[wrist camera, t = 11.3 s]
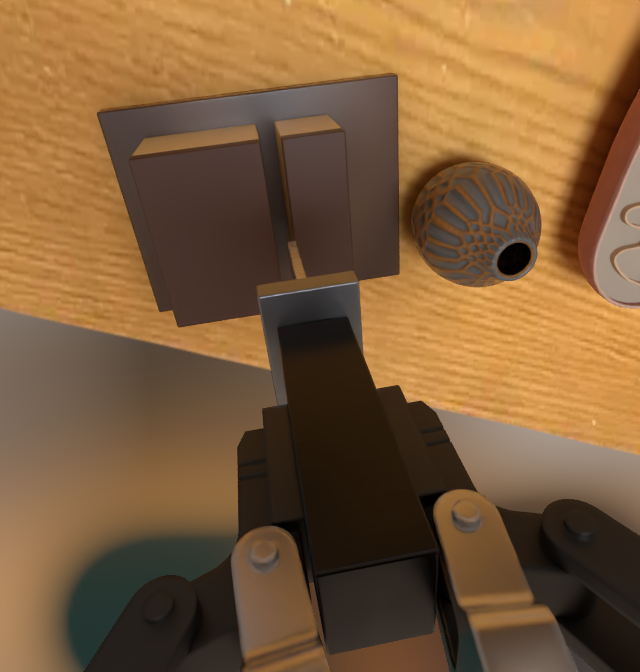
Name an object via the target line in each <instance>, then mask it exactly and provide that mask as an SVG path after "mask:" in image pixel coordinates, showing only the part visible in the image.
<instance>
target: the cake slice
mask: <svg viewBox="0 0 640 672" xmlns="http://www.w3.org/2000/svg"><path fill="white" fill-rule="evenodd" d="M274 127H275V135H276V142H277V149H278V156H279V164H280V171H281V178H282V186H283V193H284V200H285V208H286V215H287V222H288V229H289V237H290V241H296V242H297V246H298V249H299V252H300V256H301V259H302V263H303V266H304V269H305V273H306V276H307V278H308V277H315V276H321V275H328V274H334V273H340V272H347V271H354V262H353V246H352V231H351V215H350V200H349V184H348V169H347V153H346V138H345V131H344V130H343V129H342V128H341V127H340V126H339V125H338V124H337V123H336V122H335V121H333V120H332V119H331V118H330V117H329V116H328V115H327V114H325V115H318V116H310V117H302V118H295V119H287V120H279V121H275V122H274Z"/></svg>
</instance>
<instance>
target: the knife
mask: <svg viewBox="0 0 640 672" xmlns="http://www.w3.org/2000/svg"><path fill="white" fill-rule="evenodd" d="M287 249H288V256H289V263H290V270H291V277H292V280H289V281H283V282H276V283H270V284H263V285H258V286H257V287H256V289H257V299H258V304H259V309H260V315H261V320H262V325H263V331H264V336H265V341H266V346H267V352H268V357H269V362H270V367H271V373H272V377H273V383H274V388H275V394H276V399H277V404H278V406H279V405H285V404H288V410H289V416H290V423H291V430H292V437H293V444H294V451H295V458H296V464H297V471H298V478H299V485H300V492H301V499H302V506H303V512H304V519H305V526H306V533H307V540H308V547H309V554H310V560H311V567H312V574H313V580H314V585H315V591H316V596H317V601H318V607H319V612H320V618H321V623H322V628H323V634H324V639H325V645H326V650H327V653H328V654H329V655H332V654H337V653H342V652H347V651H351V650H356V649H361V648H366V647H370V646H375V645H380V644H385V643H389V642H394V641H399V640H403V639H408V638H413V637H418V636H422V635H427V634H431V633H433V632H435V618H436V617H435V616H436V600H437V583H438V566H439V547H438V544H437V542H436V539H435V537H434V534H433V532H432V529H431V527H430V524H429V522H428V519H427V516H426V514H425V511H424V509H423V506H422V504H421V501H420V499H419V496H418V494H417V491H416V488H415V486H414V483H413V481H412V478H411V476H410V473H409V471H408V468H407V465H406V463H405V460H404V458H403V455H402V453H401V450H400V448H399V445H398V443H397V440H396V437H395V435H394V432H393V430H392V427H391V425H390V422H389V420H388V417H387V415H386V412H385V409H384V407H383V404H382V402H381V399H380V397H379V394H378V392H377V389H376V387H375V384H374V381H373V379H372V376H371V374H370V371H369V369H368V366H367V364H366V361H365V359H364V356H363V341H362V324H361V308H360V291H359V281H358V279H357V277H356V275H355V273H354V271H347V272H340V273H334V274H328V275H321V276H315V277H308V278H307V276H306V273H305V269H304V266H303V263H302V259H301V256H300V252H299V249H298V246H297V242H296V241H290V242H287Z"/></svg>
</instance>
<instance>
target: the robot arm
mask: <svg viewBox="0 0 640 672" xmlns="http://www.w3.org/2000/svg"><path fill="white" fill-rule="evenodd" d="M377 392H378V394H379V397H380V399H381V402H382V404H383V407H384V409H385V412H386V415H387V417H388V420H389V422H390V425H391V427H392V430H393V432H394V435H395V437H396V440H397V443H398V445H399V448H400V450H401V453H402V455H403V458H404V460H405V463H406V465H407V468H408V471H409V473H410V476H411V478H412V481H413V483H414V486H415V488H416V491H417V494H418V496H419V499H420V501H421V504H422V506H423V509H424V511H425V514H426V516H427V519H428V522H429V524H430V527H431V529H432V532H433V534H434V537H435V539H436V542H437V544H438V547H439V566H438V583H437V600H436V616H437V620H438V624H439V628H440V632H441V636H442V641H443V645H444V649H445V654H446V658H447V662H448V666H449V671H450V672H578V669H577V667H576V665H575V663H574V660H573V658H572V656H571V654H570V651H569V649H568V647H569V648H570V649H572V650H573V651H574V652H575V653H576V654H577V655H578V656H579V657H581V658H582V659H583V660H584V661H585V662H586V663H587V664H588V665H590V666H591V667H592V668H593V669H594V670H595V671H596V672H640V536H639V535H638V534H636V533H634V532H633V531H631V530H630V529H628V528H627V527H625V526H624V525H622V524H620V523H619V522H618V521H616V520H614V519H613V518H611V517H610V516H608V515H607V514H605V513H604V512H602V511H601V510H599V509H598V508H596V507H594V506H592V505H590V504H588V503H586V502H582V501H579V500H574V499H562V500H558V501H555V502H552V503H551V504H549V505H548V506H547V507H546V508H545V510H544V512H543V514H537V513H528V512H518V511H511V510H507V509H503V508H500V507H498V506H495V505H494V504H493V503H492V502H491V501H490V500H489V499H488V498H487V497H485V496H484V495H482V494H480V493H478V491H477V490H476V488H475V487H474V485H473V483H472V481H471V479H470V477H469V475H468V474H467V471H466V470H465V468H464V466H463V464H462V462H461V460H460V458H459V456H458V454H457V452H456V450H455V448H454V447H453V445H452V443H451V442H450V439H449V437H448V435H447V433H446V431H445V430H444V428H443V425H442V423H441V422H440V420H439V418H438V416H437V414H436V412H435V411H433V410H432V409H431V408H430V407H429V406H427V405H426V404H425V403H424V402H422V401H417V402H411V403H407V402H406V399H405V397H404V395H403V393H402V391H401V389H400V387H399V386H398V385H395V386H390V387H384V388H378V389H377ZM262 414H263V425H264V428H263V429H257V430H252V431H246V432H245V433H244V435H243V437H242V439H241V441H240V443H239V445H238V448H237V454H238V519H239V520H238V521H239V533H238V540H237V543H236V545H235V548H234V549H233V551H232V553H231V554H230V555H229V557H228V558H227V559H226V560H225V561H224V562H223V563H222V564H220V565H219V566H218V567H217V568H215V569H213V570H212V571H210V572H208V573H206V574H204V575H202V576H200V577H199V578H197V579H195V580H193V581H191V582H189V581H188V580H186V579H185V578H182V577H180V576H176V575H166V576H162V577H158V578H156V579H154V580H151V581H150V582H148V583H147V584H145V585H144V586H143V587H141V588H140V589H139V590H138V591H137V592H136V593H135V594H134V596H133V597H132V598H131V600H130V601H129V603H128V604H127V606H126V607H125V609H124V610H123V612H122V614H121V615H120V617H119V618H118V620H117V621H116V623H115V624H114V626H113V627H112V629H111V630H110V632H109V634H108V635H107V637H106V638H105V640H104V641H103V643H102V644H101V646H100V647H99V649H98V650H97V652H96V654H95V655H94V657H93V658H92V660H91V661H90V663H89V664H88V666H87V667H86V669H85V671H84V672H329V668H328V664H327V660H326V656H325V652H324V648H323V645H322V641H321V639H320V635H319V632H318V628H317V624H316V620H315V616H314V612H313V608H312V602H311V595H310V587H309V583H311V582H314V580H313V574H312V567H311V560H310V554H309V547H308V540H307V533H306V526H305V519H304V512H303V506H302V499H301V492H300V485H299V478H298V471H297V464H296V458H295V451H294V444H293V437H292V430H291V423H290V416H289V410H288V404H285V405H279V406H274V407H268V408H263V409H262Z"/></svg>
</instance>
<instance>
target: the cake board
mask: <svg viewBox="0 0 640 672" xmlns="http://www.w3.org/2000/svg"><path fill="white" fill-rule="evenodd" d="M325 114H327V115H328V116H329V117H330V118H331V119H332V120H333V121H335V122H336V123H337V124H338V125H339V126H340V127H341V128H342V129H343V130H344V131H345V138H346V153H347V169H348V184H349V200H350V215H351V231H352V246H353V262H354V273H355V275H356V277H357V279H358V281H360V280H366V279H373V278H379V277H385V276H392V275H398V274H399V273H400V270H399V162H398V76H397V75H396V74H393V73H389V74H381V75H373V76H365V77H357V78H349V79H341V80H333V81H325V82H317V83H309V84H301V85H293V86H285V87H277V88H270V89H262V90H254V91H246V92H238V93H230V94H222V95H214V96H206V97H198V98H190V99H182V100H174V101H166V102H158V103H150V104H142V105H134V106H126V107H118V108H111V109H103V110H100V111H99V112H97V116H98V119H99V122H100V125H101V128H102V132H103V135H104V138H105V141H106V144H107V147H108V151H109V154H110V157H111V160H112V163H113V166H114V170H115V173H116V176H117V179H118V182H119V185H120V189H121V192H122V195H123V198H124V201H125V204H126V208H127V211H128V214H129V217H130V220H131V223H132V226H133V230H134V233H135V236H136V239H137V242H138V245H139V249H140V252H141V255H142V258H143V261H144V264H145V268H146V271H147V274H148V277H149V280H150V283H151V287H152V290H153V293H154V296H155V299H156V302H157V306H158V309H159V311H160V312H163V311H169V310H173V309H172V306H171V302H170V299H169V296H168V292H167V289H166V286H165V282H164V279H163V275H162V272H161V269H160V265H159V262H158V259H157V255H156V252H155V249H154V245H153V242H152V239H151V235H150V232H149V229H148V225H147V222H146V219H145V215H144V212H143V208H142V205H141V202H140V198H139V195H138V192H137V188H136V185H135V182H134V178H133V175H132V172H131V168H130V165H129V162H128V160H129V158H130V157H131V156H132V155H133V153H134V152H135V150H136V149H137V148H138V146H139V145H140V144H141V142H142V141H143V139H144V138H149V137H157V136H165V135H172V134H180V133H187V132H195V131H203V130H210V129H218V128H226V127H233V126H241V125H249V124H255V125H256V129H257V133H258V137H259V141H260V146H261V152H262V159H263V165H264V172H265V178H266V185H267V191H268V198H269V204H270V210H271V217H272V223H273V230H274V236H275V243H276V249H277V256H278V262H279V269H280V275H281V282H283V281H289V280H292V277H291V270H290V263H289V256H288V249H287V242H290V237H289V229H288V222H287V215H286V208H285V200H284V193H283V186H282V178H281V171H280V164H279V156H278V149H277V142H276V135H275V127H274V122H275V121H279V120H287V119H295V118H302V117H310V116H318V115H325Z"/></svg>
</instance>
